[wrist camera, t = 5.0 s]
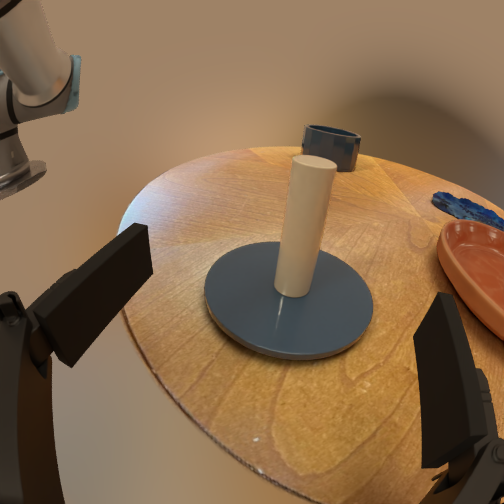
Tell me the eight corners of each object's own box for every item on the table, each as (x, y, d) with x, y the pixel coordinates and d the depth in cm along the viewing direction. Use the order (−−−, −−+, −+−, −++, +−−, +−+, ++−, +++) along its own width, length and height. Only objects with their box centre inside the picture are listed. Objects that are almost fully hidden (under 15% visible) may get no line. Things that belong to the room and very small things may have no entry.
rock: (504, 247, 33) (508, 237, 32) (424, 202, 44) (427, 191, 43) (510, 231, 40) (514, 223, 39) (447, 195, 52) (449, 187, 51)
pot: (289, 157, 56) (293, 124, 53) (320, 153, 63) (324, 124, 60) (337, 174, 50) (344, 137, 46) (363, 168, 57) (369, 137, 53)
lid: (172, 288, 21) (163, 149, 16) (281, 238, 29) (296, 134, 23) (299, 403, 14) (363, 236, 8) (392, 302, 22) (437, 184, 16)
